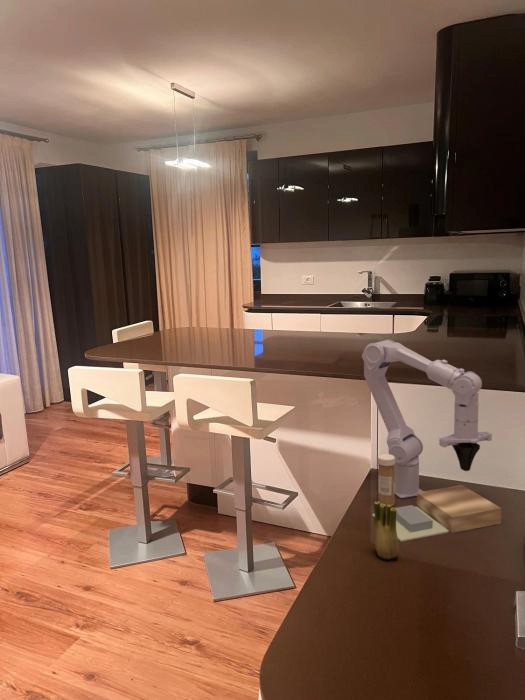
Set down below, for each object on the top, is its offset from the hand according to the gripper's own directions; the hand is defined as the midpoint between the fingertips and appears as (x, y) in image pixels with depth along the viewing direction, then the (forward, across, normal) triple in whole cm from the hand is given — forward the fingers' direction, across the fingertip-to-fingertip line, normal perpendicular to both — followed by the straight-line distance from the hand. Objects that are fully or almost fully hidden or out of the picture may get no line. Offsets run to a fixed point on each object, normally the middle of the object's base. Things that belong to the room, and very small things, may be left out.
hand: (465, 469), depth 132 cm
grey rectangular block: (+8, -18, -3) cm, 20 cm away
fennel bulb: (+11, -31, -14) cm, 36 cm away
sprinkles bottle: (+11, -18, +9) cm, 23 cm away
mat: (+10, -18, -3) cm, 21 cm away
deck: (+10, -4, -3) cm, 12 cm away
